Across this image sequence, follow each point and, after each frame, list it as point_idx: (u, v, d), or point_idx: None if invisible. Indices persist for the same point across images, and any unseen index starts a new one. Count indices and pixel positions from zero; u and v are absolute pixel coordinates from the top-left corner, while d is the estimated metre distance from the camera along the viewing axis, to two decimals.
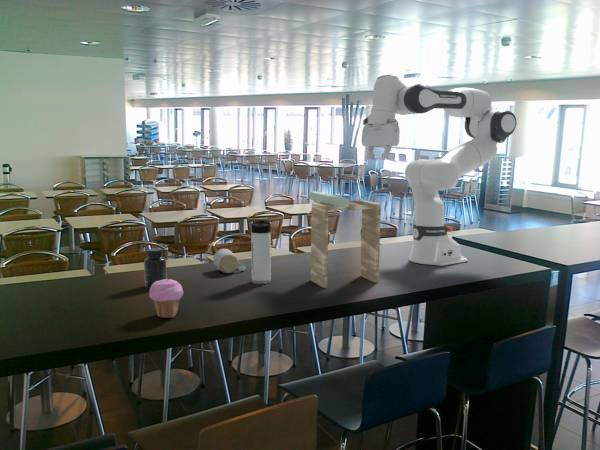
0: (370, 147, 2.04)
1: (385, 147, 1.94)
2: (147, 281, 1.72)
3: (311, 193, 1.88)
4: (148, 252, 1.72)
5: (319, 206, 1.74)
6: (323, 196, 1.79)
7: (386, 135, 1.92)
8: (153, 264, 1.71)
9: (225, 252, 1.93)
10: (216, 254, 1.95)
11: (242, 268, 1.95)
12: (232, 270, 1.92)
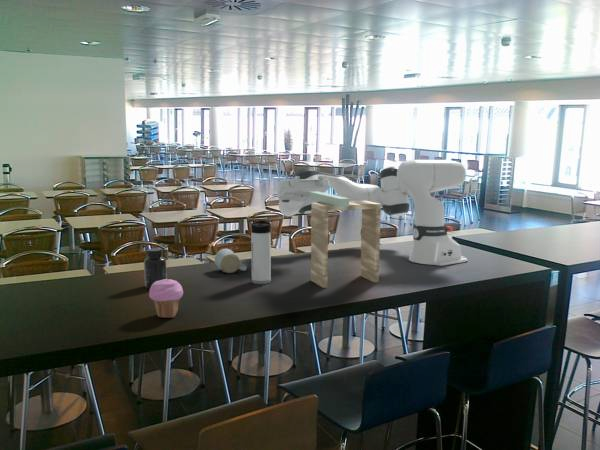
0: None
1: None
2: (147, 281, 1.72)
3: (311, 193, 1.88)
4: (148, 252, 1.72)
5: (319, 206, 1.74)
6: (323, 196, 1.79)
7: None
8: (153, 264, 1.71)
9: (226, 252, 1.93)
10: (217, 254, 1.95)
11: (243, 268, 1.95)
12: (233, 270, 1.92)
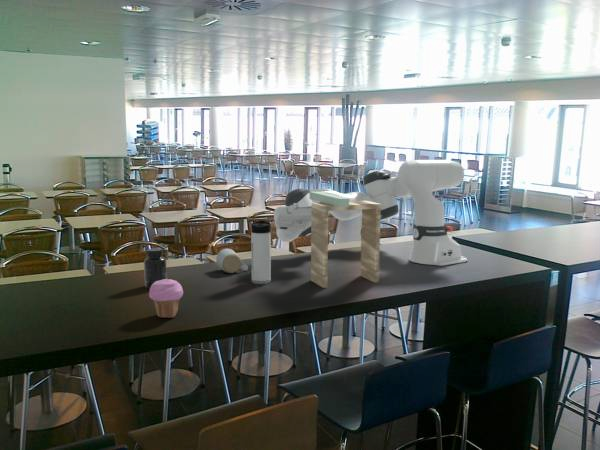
0: None
1: None
2: (147, 281, 1.72)
3: (311, 193, 1.88)
4: (148, 252, 1.72)
5: (319, 206, 1.74)
6: (323, 196, 1.79)
7: None
8: (153, 264, 1.71)
9: (228, 252, 1.93)
10: (219, 254, 1.95)
11: (245, 268, 1.95)
12: (235, 270, 1.92)
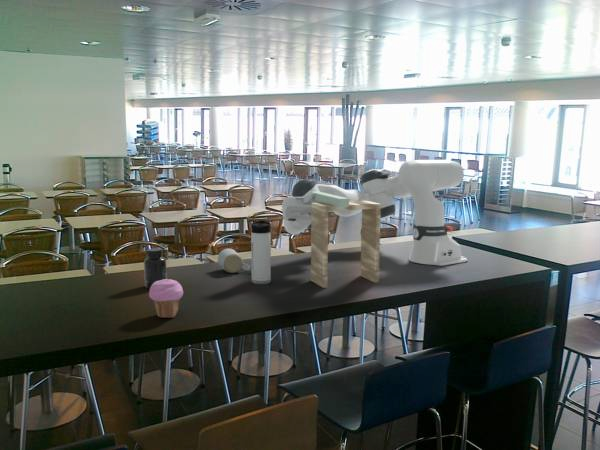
0: None
1: None
2: (147, 281, 1.72)
3: None
4: (148, 252, 1.72)
5: (319, 206, 1.74)
6: (323, 196, 1.79)
7: None
8: (153, 264, 1.71)
9: (229, 252, 1.93)
10: (220, 254, 1.96)
11: (246, 268, 1.95)
12: (236, 270, 1.93)
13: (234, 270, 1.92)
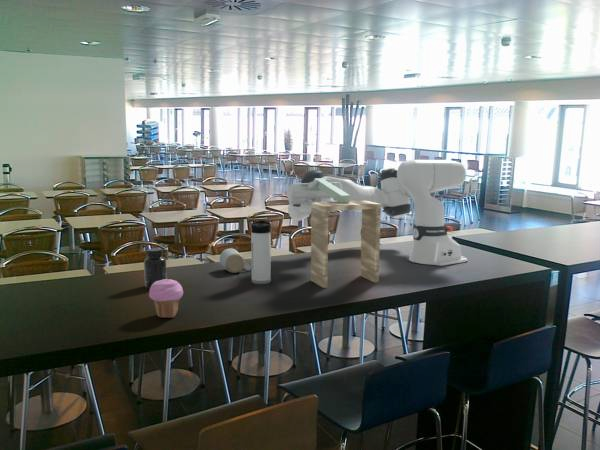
0: None
1: None
2: (147, 281, 1.72)
3: None
4: (148, 252, 1.72)
5: (319, 206, 1.74)
6: (326, 187, 1.89)
7: None
8: (153, 264, 1.71)
9: (231, 252, 1.94)
10: (222, 254, 1.96)
11: (248, 268, 1.95)
12: (238, 270, 1.93)
13: (236, 270, 1.92)
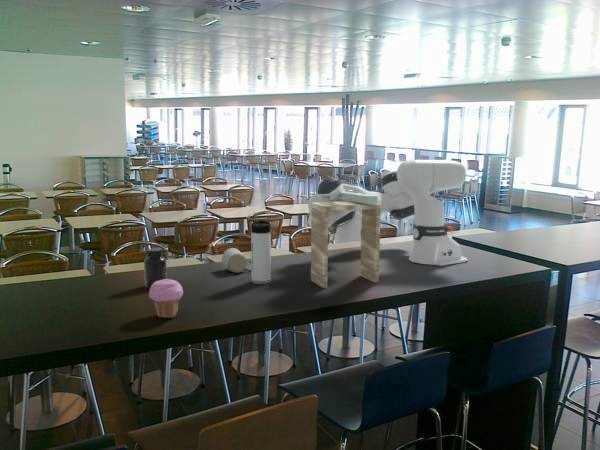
0: None
1: None
2: (147, 281, 1.72)
3: None
4: (148, 252, 1.72)
5: (319, 206, 1.74)
6: (350, 195, 1.83)
7: None
8: (153, 264, 1.71)
9: (233, 251, 1.94)
10: (224, 253, 1.96)
11: (250, 267, 1.96)
12: (240, 269, 1.93)
13: (238, 270, 1.93)
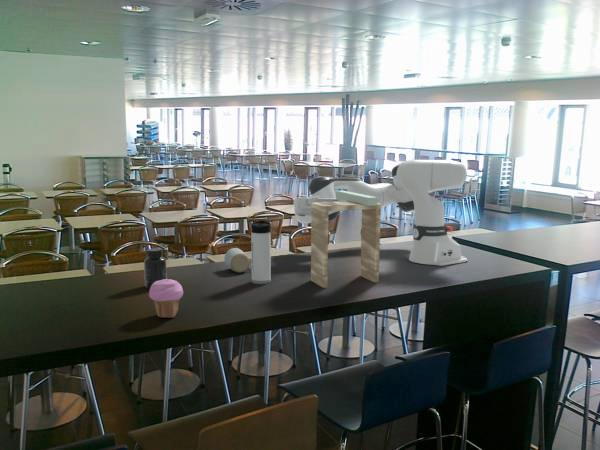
0: None
1: None
2: (147, 281, 1.72)
3: (337, 192, 1.92)
4: (148, 252, 1.72)
5: (319, 206, 1.74)
6: (350, 195, 1.83)
7: None
8: (153, 264, 1.71)
9: (236, 251, 1.94)
10: (227, 253, 1.97)
11: None
12: (243, 269, 1.93)
13: (241, 269, 1.93)
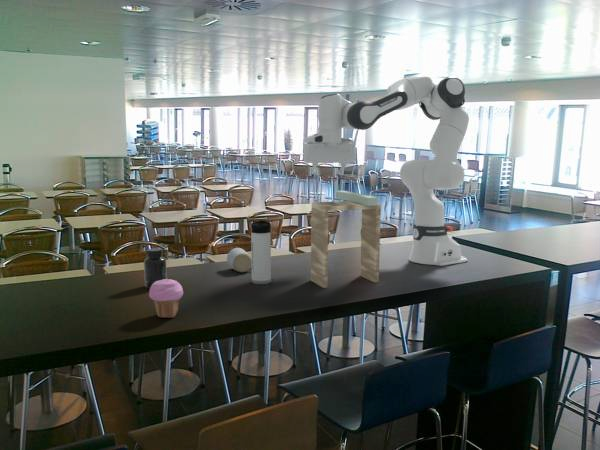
0: None
1: (344, 164, 2.10)
2: (147, 281, 1.72)
3: (337, 192, 1.92)
4: (148, 252, 1.72)
5: (319, 206, 1.74)
6: (350, 195, 1.83)
7: (348, 153, 2.09)
8: (153, 264, 1.71)
9: (239, 251, 1.95)
10: (230, 253, 1.97)
11: None
12: (246, 269, 1.94)
13: (243, 269, 1.93)
